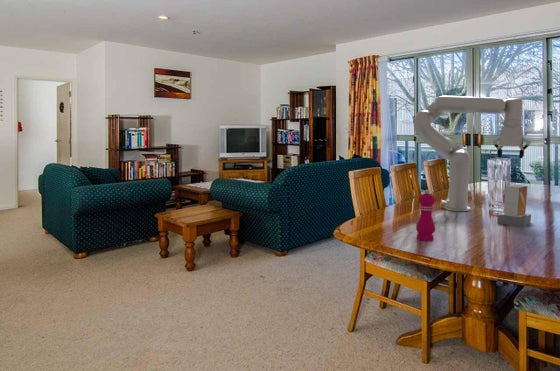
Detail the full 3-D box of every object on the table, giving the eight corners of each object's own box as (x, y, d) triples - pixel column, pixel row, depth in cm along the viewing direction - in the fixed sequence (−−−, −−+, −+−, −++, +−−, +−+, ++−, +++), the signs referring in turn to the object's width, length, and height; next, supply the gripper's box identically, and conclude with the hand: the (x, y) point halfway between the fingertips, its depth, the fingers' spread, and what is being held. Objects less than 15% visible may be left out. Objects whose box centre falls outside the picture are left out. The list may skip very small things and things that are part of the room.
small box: (517, 216, 193) (519, 187, 191) (503, 213, 198) (505, 185, 196) (525, 213, 198) (527, 185, 196) (511, 211, 203) (513, 184, 201)
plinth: (497, 222, 198) (497, 214, 197) (504, 219, 206) (505, 210, 205) (523, 226, 190) (524, 217, 190) (530, 222, 198) (531, 213, 198)
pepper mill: (418, 236, 176) (420, 187, 173) (436, 238, 172) (439, 189, 169) (413, 239, 170) (415, 190, 167) (431, 242, 166) (434, 191, 163)
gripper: (491, 123, 218) (489, 157, 220) (529, 123, 206) (527, 159, 208) (496, 123, 223) (494, 156, 226) (534, 123, 211) (531, 158, 214)
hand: (510, 157), depth 217 cm, fingers open, 9 cm apart
